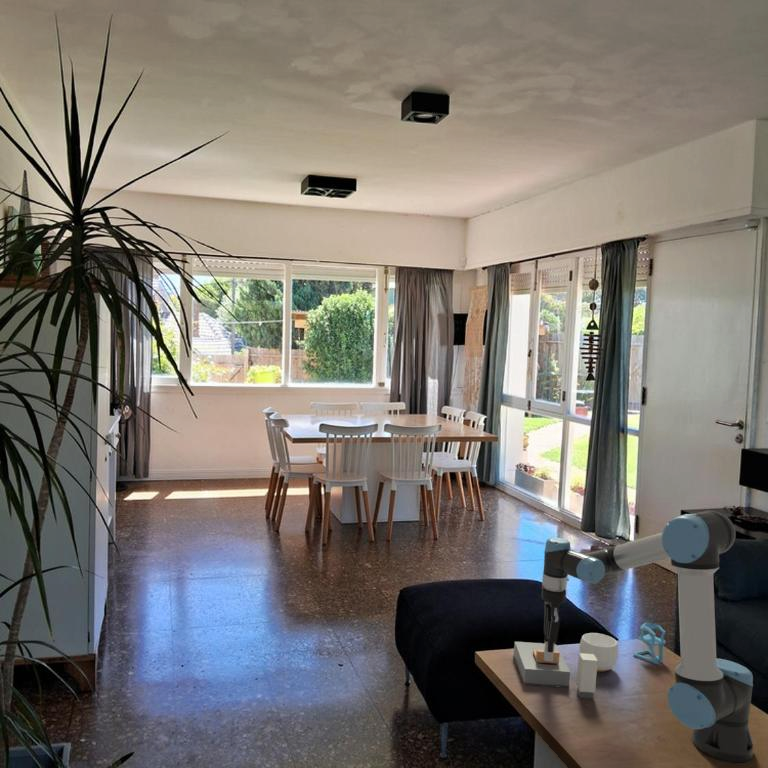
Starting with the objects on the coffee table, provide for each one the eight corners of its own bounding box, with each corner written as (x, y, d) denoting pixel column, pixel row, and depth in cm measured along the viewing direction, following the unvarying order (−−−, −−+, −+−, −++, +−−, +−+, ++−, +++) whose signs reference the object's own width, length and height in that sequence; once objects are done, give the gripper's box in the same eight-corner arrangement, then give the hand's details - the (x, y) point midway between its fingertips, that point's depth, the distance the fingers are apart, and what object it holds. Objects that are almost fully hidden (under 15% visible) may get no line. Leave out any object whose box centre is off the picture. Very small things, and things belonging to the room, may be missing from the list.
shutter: (558, 663, 230) (559, 652, 230) (536, 662, 230) (537, 651, 230) (554, 653, 237) (554, 643, 237) (532, 652, 237) (533, 642, 237)
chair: (652, 666, 245) (656, 631, 244) (632, 655, 252) (636, 622, 251) (667, 661, 249) (670, 628, 248) (647, 651, 256) (650, 618, 255)
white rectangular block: (594, 699, 220) (597, 660, 219) (579, 698, 220) (582, 659, 219) (590, 691, 224) (593, 654, 223) (575, 690, 224) (579, 653, 223)
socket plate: (568, 687, 226) (570, 671, 225) (523, 684, 226) (525, 668, 226) (554, 658, 246) (555, 644, 245) (513, 655, 246) (514, 641, 246)
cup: (620, 666, 243) (623, 638, 242) (611, 680, 232) (614, 651, 232) (583, 656, 249) (586, 628, 248) (573, 669, 239) (575, 641, 238)
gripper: (571, 595, 221) (564, 670, 223) (561, 581, 234) (555, 651, 236) (546, 594, 221) (540, 668, 223) (538, 579, 234) (532, 650, 236)
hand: (548, 660), depth 229 cm, fingers closed
